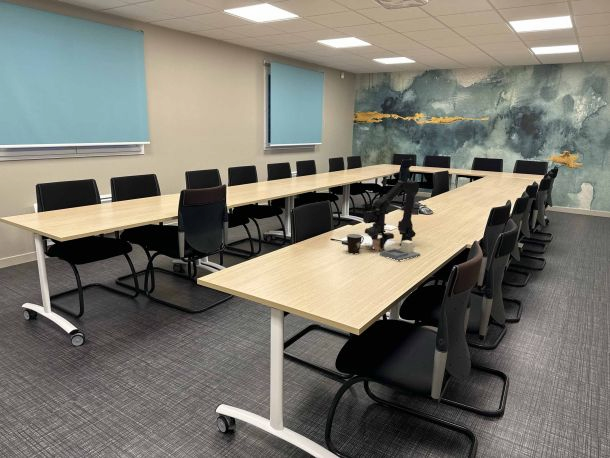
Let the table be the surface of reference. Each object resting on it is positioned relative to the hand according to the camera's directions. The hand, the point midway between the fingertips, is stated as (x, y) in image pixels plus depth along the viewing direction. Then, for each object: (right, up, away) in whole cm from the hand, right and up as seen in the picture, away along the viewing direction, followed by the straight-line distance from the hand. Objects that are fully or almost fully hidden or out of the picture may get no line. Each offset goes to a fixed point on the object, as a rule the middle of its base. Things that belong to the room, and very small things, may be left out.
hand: (378, 247), depth 252 cm
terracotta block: (0, -1, 0) cm, 1 cm away
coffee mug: (-14, -3, -6) cm, 15 cm away
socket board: (+10, -4, -12) cm, 16 cm away
